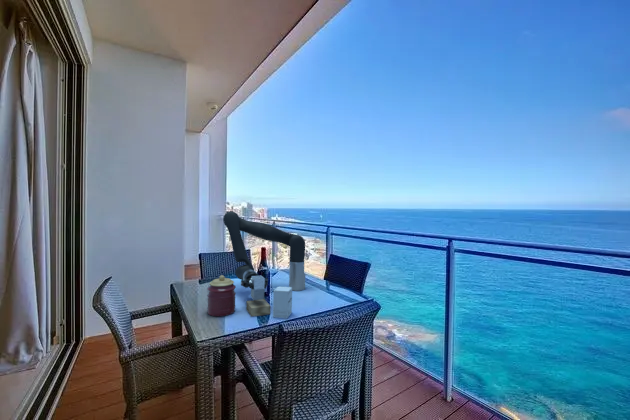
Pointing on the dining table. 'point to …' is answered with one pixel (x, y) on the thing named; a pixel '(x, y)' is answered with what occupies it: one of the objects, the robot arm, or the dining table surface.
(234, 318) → the dining table surface
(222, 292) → the canister
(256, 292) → the block
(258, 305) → the stand
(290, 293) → the supplement box
